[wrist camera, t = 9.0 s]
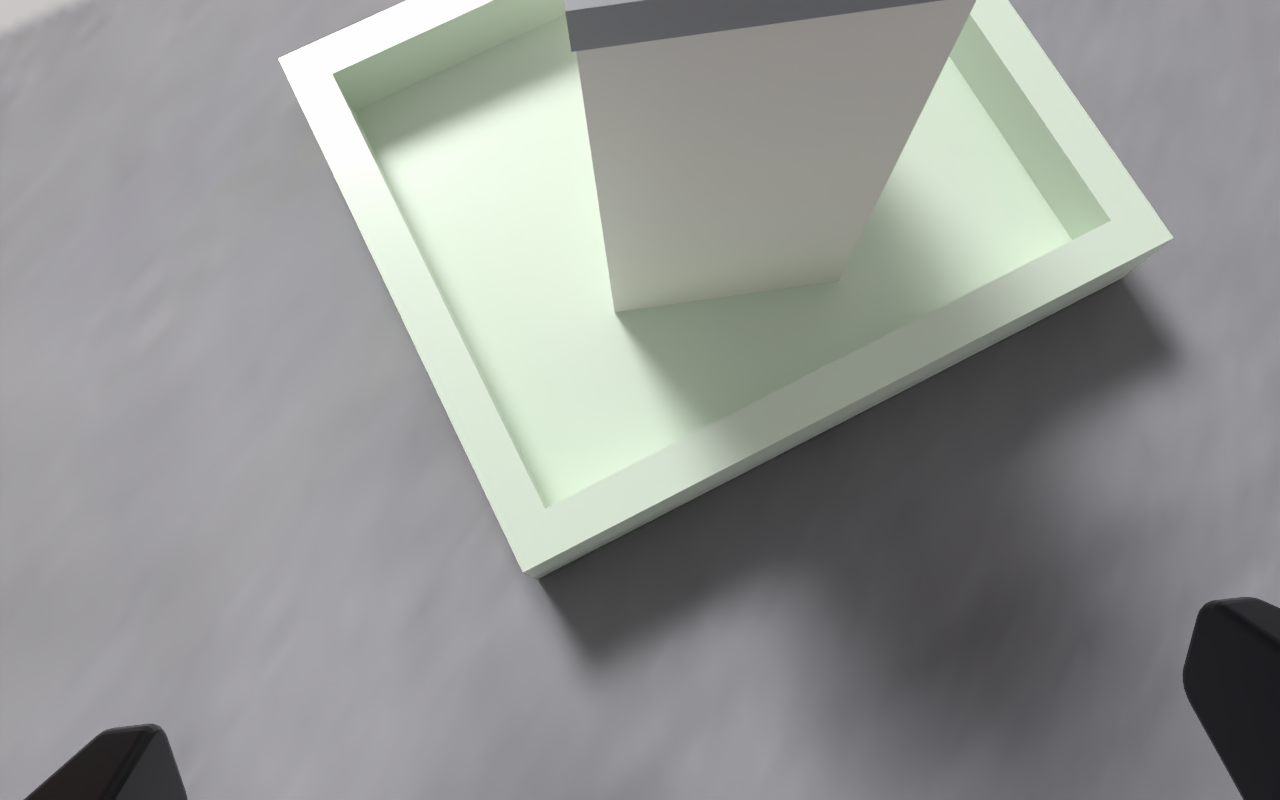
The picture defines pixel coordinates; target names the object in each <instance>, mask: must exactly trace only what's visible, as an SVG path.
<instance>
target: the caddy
mask: <svg viewBox="0 0 1280 800" xmlns="http://www.w3.org/2000/svg"><path fill="white" fill-rule="evenodd" d="M975 2H976V0H564V7H565V14H566V20H567V27H568V33H569V40H570V46H571V52H575V51H576V54H577V61H578V68H579V74H580V81H581V88H582V95H583V102H584V108H585V115H586V122H587V129H588V136H589V142H590V149H591V156H592V163H593V169H594V176H595V183H596V190H597V197H598V203H599V210H600V217H601V224H602V230H603V237H604V244H605V251H606V258H607V264H608V271H609V278H610V285H611V292H612V298H613V305H614V312H622V311H629V310H636V309H643V308H650V307H657V306H664V305H671V304H678V303H685V302H692V301H699V300H706V299H713V298H720V297H727V296H734V295H741V294H748V293H755V292H762V291H770V290H777V289H784V288H791V287H798V286H805V285H812V284H819V283H826V282H833V281H839V279H840V277H841V275H842V273H843V271H844V269H845V267H846V265H847V263H848V261H849V259H850V257H851V254H852V252H853V250H854V248H855V246H856V244H857V242H858V240H859V238H860V236H861V234H862V232H863V230H864V228H865V226H866V224H867V222H868V220H869V218H870V216H871V214H872V212H873V210H874V208H875V206H876V204H877V202H878V200H879V198H880V196H881V193H882V191H883V189H884V187H885V185H886V183H887V181H888V179H889V177H890V175H891V173H892V171H893V169H894V167H895V165H896V163H897V161H898V159H899V157H900V155H901V153H902V151H903V149H904V147H905V145H906V143H907V141H908V139H909V137H910V134H911V132H912V130H913V128H914V126H915V124H916V122H917V120H918V118H919V116H920V114H921V112H922V110H923V108H924V106H925V104H926V102H927V100H928V98H929V96H930V94H931V92H932V90H933V88H934V86H935V84H936V82H937V80H938V78H939V76H940V73H941V71H942V69H943V67H944V65H945V63H946V61H947V59H948V57H949V55H950V53H951V51H952V49H953V47H954V45H955V43H956V41H957V39H958V37H959V35H960V33H961V31H962V29H963V27H964V25H965V23H966V21H967V19H968V17H969V14H970V12H971V10H972V8H973V6H974V4H975Z"/></svg>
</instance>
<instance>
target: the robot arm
mask: <svg viewBox="0 0 1280 800" xmlns="http://www.w3.org/2000/svg"><path fill="white" fill-rule="evenodd" d="M1183 684H1184V689H1185V692H1186V695H1187V698H1188V700H1189V702H1190V704H1191V706H1192V708H1193V709H1194V711H1195V713H1196V715H1197V717H1198V718H1199V720H1200V722H1201V724H1202V726H1203V727H1204V729H1205V731H1206V733H1207V735H1208V737H1209V738H1210V740H1211V742H1212V744H1213V746H1214V747H1215V749H1216V751H1217V753H1218V755H1219V756H1220V758H1221V760H1222V762H1223V764H1224V765H1225V767H1226V769H1227V771H1228V773H1229V774H1230V776H1231V778H1232V780H1233V782H1234V783H1235V785H1236V787H1237V789H1238V791H1239V792H1240V794H1241V796H1242V798H1243V800H1280V608H1278V607H1276V606H1274V605H1271V604H1269V603H1267V602H1264V601H1262V600H1260V599H1257V598H1252V597H1239V598H1230V599H1222V600H1214V601H1210V602H1208V603H1206V604H1205V605H1204V606H1203V607H1202V608H1201V609H1200V610H1199V613H1198V615H1197V619H1196V623H1195V627H1194V630H1193V634H1192V638H1191V642H1190V645H1189V649H1188V653H1187V657H1186V660H1185V664H1184V668H1183ZM24 800H187V795H186V791H185V788H184V785H183V782H182V779H181V776H180V773H179V770H178V767H177V764H176V761H175V758H174V756H173V753H172V750H171V747H170V744H169V741H168V738H167V736H166V734H165V732H164V730H163V729H162V728H161V727H160V726H158V725H155V724H143V725H134V726H125V727H117V728H111V729H108V730H105V731H103V732H102V733H100V734H99V735H97V736H96V737H95V738H94V739H93V740H91V741H90V742H89V743H88V744H87V745H86V746H85V747H83V748H82V749H81V750H80V751H79V752H78V753H77V754H75V755H74V756H73V757H72V758H71V759H70V760H69V761H67V762H66V763H65V764H64V765H63V766H62V767H61V768H59V769H58V770H57V771H56V772H55V773H54V774H53V775H51V776H50V777H49V778H48V779H47V780H46V781H45V782H43V783H42V784H41V785H40V786H39V787H38V788H36V789H35V790H34V791H33V792H32V793H31V794H30V795H28V796H27V797H26V798H25V799H24Z"/></svg>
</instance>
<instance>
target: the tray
mask: <svg viewBox="0 0 1280 800" xmlns="http://www.w3.org/2000/svg"><path fill="white" fill-rule="evenodd" d="M278 59H279V61H280V64H281V66H282V68H283V70H284V72H285V74H286V76H287V78H288V80H289V82H290V85H291V87H292V89H293V91H294V93H295V95H296V97H297V99H298V101H299V103H300V106H301V108H302V110H303V112H304V114H305V116H306V118H307V120H308V122H309V124H310V127H311V129H312V131H313V133H314V135H315V137H316V139H317V141H318V143H319V145H320V148H321V150H322V152H323V154H324V156H325V158H326V160H327V162H328V164H329V166H330V169H331V171H332V173H333V175H334V177H335V179H336V181H337V183H338V185H339V187H340V190H341V192H342V194H343V196H344V198H345V200H346V202H347V204H348V206H349V208H350V211H351V213H352V215H353V217H354V219H355V221H356V223H357V225H358V227H359V229H360V232H361V234H362V236H363V238H364V240H365V242H366V244H367V246H368V248H369V250H370V253H371V255H372V257H373V259H374V261H375V263H376V265H377V267H378V269H379V271H380V274H381V276H382V278H383V280H384V282H385V284H386V286H387V288H388V290H389V292H390V294H391V297H392V299H393V301H394V303H395V305H396V307H397V309H398V311H399V313H400V315H401V318H402V320H403V322H404V324H405V326H406V328H407V330H408V332H409V334H410V336H411V339H412V341H413V343H414V345H415V347H416V349H417V351H418V353H419V355H420V357H421V360H422V362H423V364H424V366H425V368H426V370H427V372H428V374H429V376H430V378H431V381H432V383H433V385H434V387H435V389H436V391H437V393H438V395H439V397H440V399H441V402H442V404H443V406H444V408H445V410H446V412H447V414H448V416H449V418H450V420H451V423H452V425H453V427H454V429H455V431H456V433H457V435H458V437H459V439H460V441H461V444H462V446H463V448H464V450H465V452H466V454H467V456H468V458H469V460H470V462H471V465H472V467H473V469H474V471H475V473H476V475H477V477H478V479H479V481H480V483H481V486H482V488H483V490H484V492H485V494H486V496H487V498H488V500H489V502H490V504H491V507H492V509H493V511H494V513H495V515H496V517H497V519H498V521H499V523H500V525H501V528H502V530H503V532H504V534H505V536H506V538H507V540H508V542H509V544H510V546H511V549H512V551H513V553H514V555H515V557H516V559H517V561H518V563H519V565H520V567H521V570H522V572H523V573H525V574H527V575H529V576H531V577H534V578H536V579H539V578H541V577H543V576H545V575H547V574H549V573H551V572H553V571H555V570H557V569H559V568H561V567H563V566H565V565H567V564H568V563H570V562H572V561H574V560H576V559H578V558H580V557H582V556H584V555H586V554H588V553H590V552H592V551H594V550H596V549H598V548H599V547H601V546H603V545H605V544H607V543H609V542H611V541H613V540H615V539H617V538H619V537H621V536H623V535H625V534H627V533H629V532H631V531H632V530H634V529H636V528H638V527H640V526H642V525H644V524H646V523H648V522H650V521H652V520H654V519H656V518H658V517H660V516H662V515H664V514H665V513H667V512H669V511H671V510H673V509H675V508H677V507H679V506H681V505H683V504H685V503H687V502H689V501H691V500H693V499H695V498H696V497H698V496H700V495H702V494H704V493H706V492H708V491H710V490H712V489H714V488H716V487H718V486H720V485H722V484H724V483H726V482H728V481H729V480H731V479H733V478H735V477H737V476H739V475H741V474H743V473H745V472H747V471H749V470H751V469H753V468H755V467H757V466H759V465H760V464H762V463H764V462H766V461H768V460H770V459H772V458H774V457H776V456H778V455H780V454H782V453H784V452H786V451H788V450H790V449H792V448H793V447H795V446H797V445H799V444H801V443H803V442H805V441H807V440H809V439H811V438H813V437H815V436H817V435H819V434H821V433H823V432H825V431H826V430H828V429H830V428H832V427H834V426H836V425H838V424H840V423H842V422H844V421H846V420H848V419H850V418H852V417H854V416H856V415H857V414H859V413H861V412H863V411H865V410H867V409H869V408H871V407H873V406H875V405H877V404H879V403H881V402H883V401H885V400H887V399H889V398H890V397H892V396H894V395H896V394H898V393H900V392H902V391H904V390H906V389H908V388H910V387H912V386H914V385H916V384H918V383H920V382H922V381H923V380H925V379H927V378H929V377H931V376H933V375H935V374H937V373H939V372H941V371H943V370H945V369H947V368H949V367H951V366H953V365H954V364H956V363H958V362H960V361H962V360H964V359H966V358H968V357H970V356H972V355H974V354H976V353H978V352H980V351H982V350H984V349H986V348H987V347H989V346H991V345H993V344H995V343H997V342H999V341H1001V340H1003V339H1005V338H1007V337H1009V336H1011V335H1013V334H1015V333H1017V332H1018V331H1020V330H1022V329H1024V328H1026V327H1028V326H1030V325H1032V324H1034V323H1036V322H1038V321H1040V320H1042V319H1044V318H1046V317H1048V316H1050V315H1051V314H1053V313H1055V312H1057V311H1059V310H1061V309H1063V308H1065V307H1067V306H1069V305H1071V304H1073V303H1075V302H1077V301H1079V300H1081V299H1083V298H1084V297H1086V296H1088V295H1090V294H1092V293H1094V292H1096V291H1098V290H1100V289H1102V288H1104V287H1106V286H1108V285H1110V284H1112V283H1114V282H1115V281H1117V280H1119V279H1121V278H1123V277H1124V276H1126V275H1127V274H1128V273H1130V272H1131V271H1132V270H1133V269H1135V268H1136V267H1137V266H1138V265H1140V264H1141V263H1142V262H1144V261H1145V260H1146V259H1147V258H1149V257H1150V256H1151V255H1152V254H1154V253H1155V252H1156V251H1158V250H1159V249H1160V248H1161V247H1163V246H1164V245H1165V244H1166V243H1168V242H1169V241H1170V240H1172V239H1173V236H1172V235H1171V234H1170V232H1169V231H1168V229H1167V228H1166V226H1165V225H1164V224H1163V222H1162V221H1161V219H1160V218H1159V216H1158V215H1157V213H1156V212H1155V211H1154V209H1153V208H1152V206H1151V205H1150V203H1149V202H1148V201H1147V199H1146V198H1145V196H1144V195H1143V193H1142V192H1141V190H1140V189H1139V188H1138V186H1137V185H1136V183H1135V182H1134V180H1133V179H1132V178H1131V176H1130V175H1129V173H1128V172H1127V170H1126V169H1125V167H1124V166H1123V165H1122V163H1121V162H1120V160H1119V159H1118V157H1117V156H1116V155H1115V153H1114V152H1113V150H1112V149H1111V147H1110V146H1109V145H1108V143H1107V142H1106V140H1105V139H1104V137H1103V136H1102V134H1101V133H1100V132H1099V130H1098V129H1097V127H1096V126H1095V124H1094V123H1093V122H1092V120H1091V119H1090V117H1089V116H1088V114H1087V113H1086V111H1085V110H1084V109H1083V107H1082V106H1081V104H1080V103H1079V101H1078V100H1077V99H1076V97H1075V96H1074V94H1073V93H1072V91H1071V90H1070V88H1069V87H1068V86H1067V84H1066V83H1065V81H1064V80H1063V78H1062V77H1061V76H1060V74H1059V73H1058V71H1057V70H1056V68H1055V67H1054V65H1053V64H1052V63H1051V61H1050V60H1049V58H1048V57H1047V55H1046V54H1045V53H1044V51H1043V50H1042V48H1041V47H1040V45H1039V44H1038V42H1037V41H1036V40H1035V38H1034V37H1033V35H1032V34H1031V32H1030V31H1029V30H1028V28H1027V27H1026V25H1025V24H1024V22H1023V21H1022V19H1021V18H1020V17H1019V15H1018V14H1017V12H1016V11H1015V9H1014V8H1013V7H1012V5H1011V4H1010V2H1009V1H1008V0H976V2H975V4H974V6H973V8H972V10H971V12H970V14H969V17H968V19H967V21H966V23H965V25H964V27H963V29H962V31H961V33H960V35H959V37H958V39H957V41H956V43H955V45H954V47H953V49H952V51H951V53H950V55H949V57H948V59H947V61H946V63H945V65H944V67H943V69H942V71H941V73H940V76H939V78H938V80H937V82H936V84H935V86H934V88H933V90H932V92H931V94H930V96H929V98H928V100H927V102H926V104H925V106H924V108H923V110H922V112H921V114H920V116H919V118H918V120H917V122H916V124H915V126H914V128H913V130H912V132H911V134H910V137H909V139H908V141H907V143H906V145H905V147H904V149H903V151H902V153H901V155H900V157H899V159H898V161H897V163H896V165H895V167H894V169H893V171H892V173H891V175H890V177H889V179H888V181H887V183H886V185H885V187H884V189H883V191H882V193H881V196H880V198H879V200H878V202H877V204H876V206H875V208H874V210H873V212H872V214H871V216H870V218H869V220H868V222H867V224H866V226H865V228H864V230H863V232H862V234H861V236H860V238H859V240H858V242H857V244H856V246H855V248H854V250H853V252H852V254H851V257H850V259H849V261H848V263H847V265H846V267H845V269H844V271H843V273H842V275H841V277H840V279H839V281H833V282H826V283H819V284H812V285H805V286H798V287H791V288H784V289H777V290H770V291H762V292H755V293H748V294H741V295H734V296H727V297H720V298H713V299H706V300H699V301H692V302H685V303H678V304H671V305H664V306H657V307H650V308H643V309H636V310H629V311H622V312H614V305H613V298H612V292H611V285H610V278H609V271H608V264H607V258H606V251H605V244H604V237H603V230H602V224H601V217H600V210H599V203H598V197H597V190H596V183H595V176H594V169H593V163H592V156H591V149H590V142H589V136H588V129H587V122H586V115H585V108H584V102H583V95H582V88H581V81H580V74H579V68H578V61H577V54H576V51H575V52H571V46H570V40H569V33H568V27H567V20H566V14H565V7H564V0H406V1H404V2H402V3H400V4H398V5H395V6H393V7H391V8H389V9H386V10H384V11H382V12H380V13H378V14H375V15H373V16H371V17H369V18H367V19H364V20H362V21H360V22H358V23H356V24H353V25H351V26H349V27H347V28H344V29H342V30H340V31H338V32H336V33H333V34H331V35H329V36H327V37H325V38H322V39H320V40H318V41H316V42H313V43H311V44H309V45H307V46H305V47H302V48H300V49H298V50H296V51H294V52H291V53H289V54H287V55H285V56H282V57H280V58H278Z"/></svg>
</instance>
